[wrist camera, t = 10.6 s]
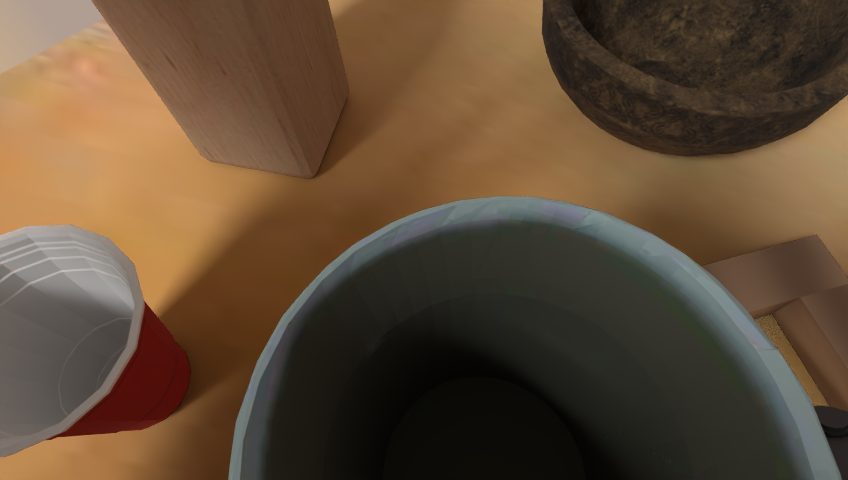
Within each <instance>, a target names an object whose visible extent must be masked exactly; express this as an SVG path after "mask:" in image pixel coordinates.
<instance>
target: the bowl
mask: <svg viewBox="0 0 848 480" xmlns="http://www.w3.org/2000/svg"><path fill="white" fill-rule="evenodd" d="M542 35H543V40H544V44H545V48H546V53H547V56H548V58H549V61H550V64H551V67H552V70H553V72H554V74H555V76H556V78H557V80H558V81H559V83H560V85H561V87H562V89H563V90H564V91H565V92H566V94H567V95H568V96H569V97H570V98H571V100H572V101H573V102H574V103H575V105H576V106H577V107H578V108H579V109H580V110H581V112H582V113H583V114H584V115H585V116H586V117H588V118H589V119H590V120H591V121H592V122H594V123H595V124H596V125H597V126H598V127H600V128H601V129H603V130H605V131H606V132H608V133H610V134H612V135H613V136H615V137H617V138H618V139H620V140H623V141H625V142H628V143H630V144H633V145H635V146H638V147H640V148H643V149H648V150H652V151H656V152H660V153H664V154H673V155H685V156H699V155H714V154H729V153H735V152H740V151H744V150H748V149H752V148H756V147H760V146H762V145H765V144H768V143H771V142H773V141H776V140H779V139H782V138H784V137H786V136H788V135H790V134H792V133H794V132H797V131H799V130H801V129H803V128H805V127H807V126H808V125H810V124H811V123H812V122H813V121H815V120H816V119H817V118H819V117H820V116H821V115H823V114H824V113H825V112H826V111H828V110H829V109H830V108H832V107H833V106H834V105H835V104H837V103H838V102H839V101H840V100H842V99H843V98H844V97H846V96H847V95H848V0H543V17H542Z"/></svg>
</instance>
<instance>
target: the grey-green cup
mask: <svg viewBox="0 0 848 480" xmlns="http://www.w3.org/2000/svg"><path fill="white" fill-rule="evenodd" d="M228 480H842V479H841V474H840V472H839V469H838V467H837V464H836V462H835V459H834V457H833V454H832V452H831V449H830V447H829V444H828V442H827V439H826V436H825V434H824V431H823V429H822V426H821V424H820V421H819V419H818V416H817V414H816V411H815V409H814V406H813V404H812V401H811V399H810V397H809V396H808V394H807V392H806V391H805V389H804V388H803V386H802V385H801V383H800V382H799V380H798V378H797V377H796V375H795V374H794V372H793V371H792V369H791V367H790V366H789V364H788V363H787V361H786V360H785V359H784V357H783V356H782V354H781V353H780V352H779V350H778V349H777V347H776V346H775V345H774V343H773V342H772V341H771V340H770V338H769V337H768V336H767V335H766V334H765V332H764V331H763V330H762V329H761V327H760V326H759V325H758V324H757V322H756V321H755V320H754V319H753V318H752V316H751V315H750V314H749V313H748V311H747V310H746V309H745V308H744V307H743V306H742V305H741V304H740V302H739V301H738V300H737V299H736V298H735V297H734V296H733V295H732V294H731V293H730V292H729V291H728V290H727V289H726V288H725V287H724V286H723V285H722V284H721V283H720V282H719V281H718V280H717V279H716V278H715V277H714V276H713V275H711V274H710V273H709V272H708V271H706V270H705V269H704V268H702V267H701V266H700V265H699V264H697V263H696V262H695V261H694V260H692V259H691V258H690V257H689V256H687V255H686V254H684V253H683V252H681V251H680V250H678V249H676V248H675V247H673V246H671V245H670V244H668V243H667V242H665V241H663V240H662V239H660V238H658V237H657V236H655V235H654V234H652V233H650V232H648V231H646V230H644V229H642V228H639V227H637V226H635V225H633V224H630V223H628V222H626V221H624V220H621V219H619V218H617V217H614V216H612V215H610V214H608V213H605V212H602V211H598V210H594V209H591V208H587V207H583V206H580V205H576V204H572V203H568V202H565V201H558V200H551V199H545V198H538V197H514V196H496V197H486V198H476V199H467V200H459V201H455V202H451V203H447V204H443V205H440V206H436V207H432V208H428V209H424V210H421V211H418V212H416V213H414V214H411V215H409V216H406V217H404V218H401V219H399V220H397V221H394V222H392V223H390V224H388V225H386V226H385V227H383V228H381V229H379V230H378V231H376V232H374V233H372V234H371V235H369V236H367V237H366V238H364V239H362V240H360V241H359V242H357V243H355V244H353V245H352V246H351V247H350V248H349V249H347V250H346V251H345V252H344V253H342V254H341V255H340V256H339V257H337V258H336V259H335V260H334V261H333V262H331V263H330V264H329V265H328V266H326V268H325V269H324V270H323V271H322V272H321V273H320V274H319V275H318V276H317V277H316V278H315V279H314V280H313V281H312V282H311V283H310V284H309V286H308V287H307V288H306V289H305V290H304V291H303V292H302V293H301V294H300V296H299V297H298V298H297V299H296V300H295V302H294V303H293V304H292V305H291V306H290V308H289V309H288V310H287V311H286V312H285V314H284V315H283V316H282V318H281V319H280V321H279V323H278V325H277V327H276V328H275V330H274V332H273V334H272V336H271V337H270V339H269V341H268V343H267V345H266V346H265V348H264V350H263V352H262V354H261V355H260V357H259V359H258V361H257V363H256V366H255V369H254V372H253V375H252V377H251V380H250V383H249V386H248V389H247V392H246V394H245V397H244V400H243V403H242V406H241V408H240V411H239V414H238V417H237V420H236V423H235V431H234V438H233V446H232V453H231V461H230V468H229V475H228Z"/></svg>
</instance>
